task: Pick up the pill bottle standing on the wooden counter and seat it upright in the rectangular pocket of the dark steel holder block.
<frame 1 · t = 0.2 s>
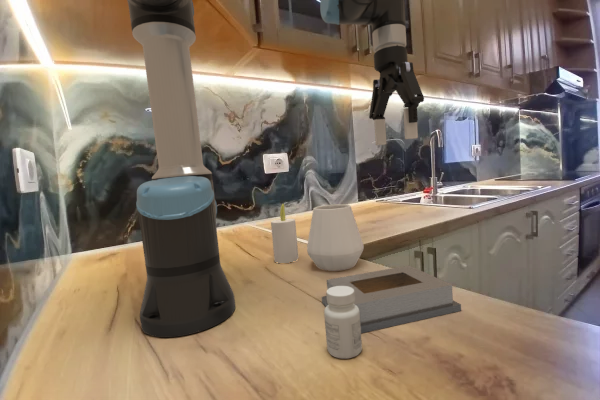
hand: (395, 142, 76), 28 cm above the worktop, fingers open, 13 cm apart
candle: (286, 261, 83), on the worktop
pill bottle: (344, 351, 40), on the worktop
white vase: (336, 265, 76), on the worktop
holder: (386, 306, 51), on the worktop
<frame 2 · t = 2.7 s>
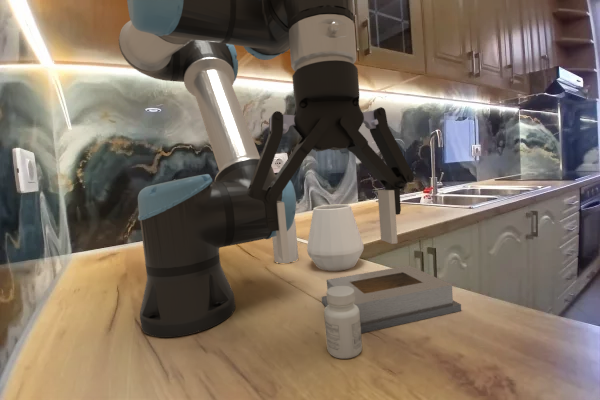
hand: (338, 249, 38), 13 cm above the worktop, fingers open, 13 cm apart
nothing on the worktop moved.
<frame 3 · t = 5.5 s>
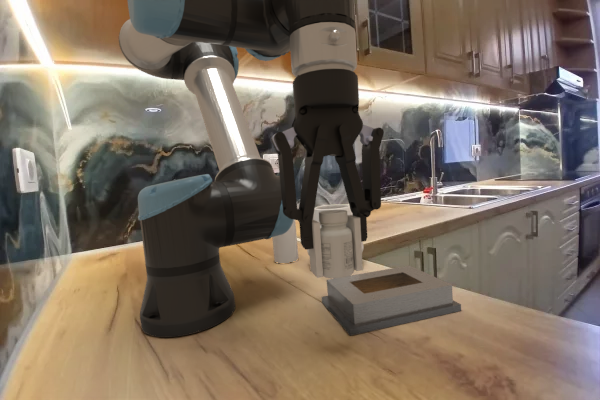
hand: (336, 270, 39), 10 cm above the worktop, fingers closed on pill bottle, 4 cm apart
pill bottle: (336, 274, 39), point 10 cm above the worktop, touching gripper
everything else where it was.
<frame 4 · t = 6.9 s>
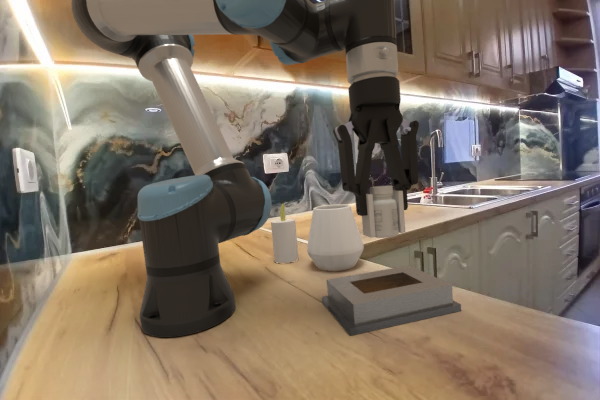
hand: (384, 233, 50), 12 cm above the worktop, fingers closed on pill bottle, 4 cm apart
pill bottle: (384, 236, 50), point 11 cm above the worktop, touching gripper
everything else where it was.
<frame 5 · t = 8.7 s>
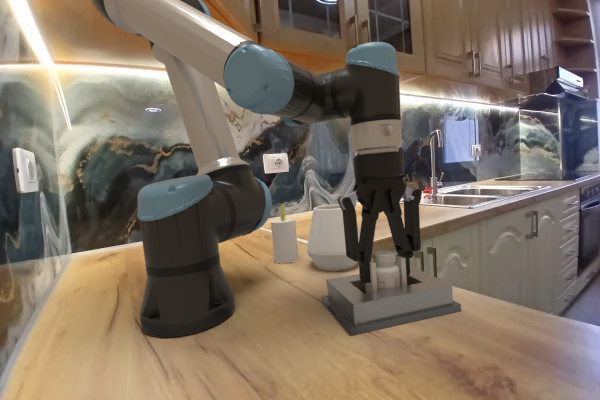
hand: (386, 298, 51), 1 cm above the worktop, fingers closed on holder, pill bottle, 4 cm apart
pill bottle: (386, 301, 51), point 1 cm above the worktop, touching gripper, holder
everything else where it was.
when the fingers open (3 cm above the worktop, at t = 10.0 s): pill bottle stays where it is, resting on holder.
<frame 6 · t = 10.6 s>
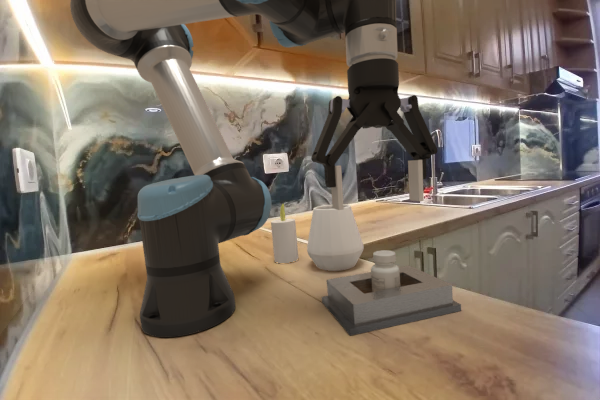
hand: (378, 204, 50), 16 cm above the worktop, fingers open, 13 cm apart
pill bottle: (386, 301, 51), point 1 cm above the worktop, touching holder
everything else where it was.
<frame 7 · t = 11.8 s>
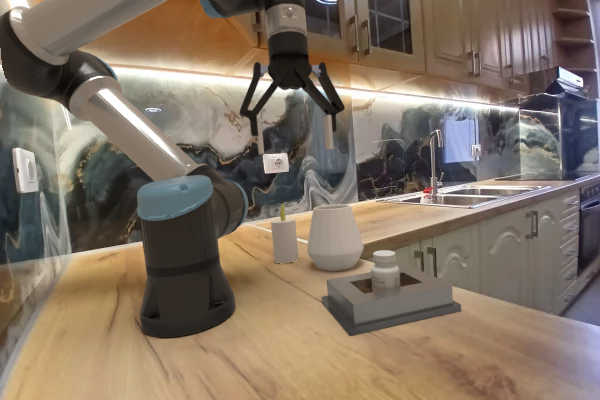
hand: (296, 151, 62), 27 cm above the worktop, fingers open, 13 cm apart
nothing on the worktop moved.
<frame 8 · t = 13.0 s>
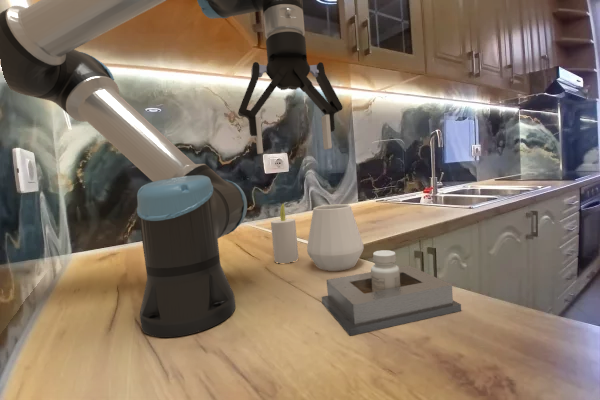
hand: (294, 151, 62), 27 cm above the worktop, fingers open, 13 cm apart
nothing on the worktop moved.
at the end: pill bottle inside the target area on the holder (0.1 cm from its centre), point 0.9 cm above the holder's base; pill bottle tilted 0°; the gripper is holding nothing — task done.
